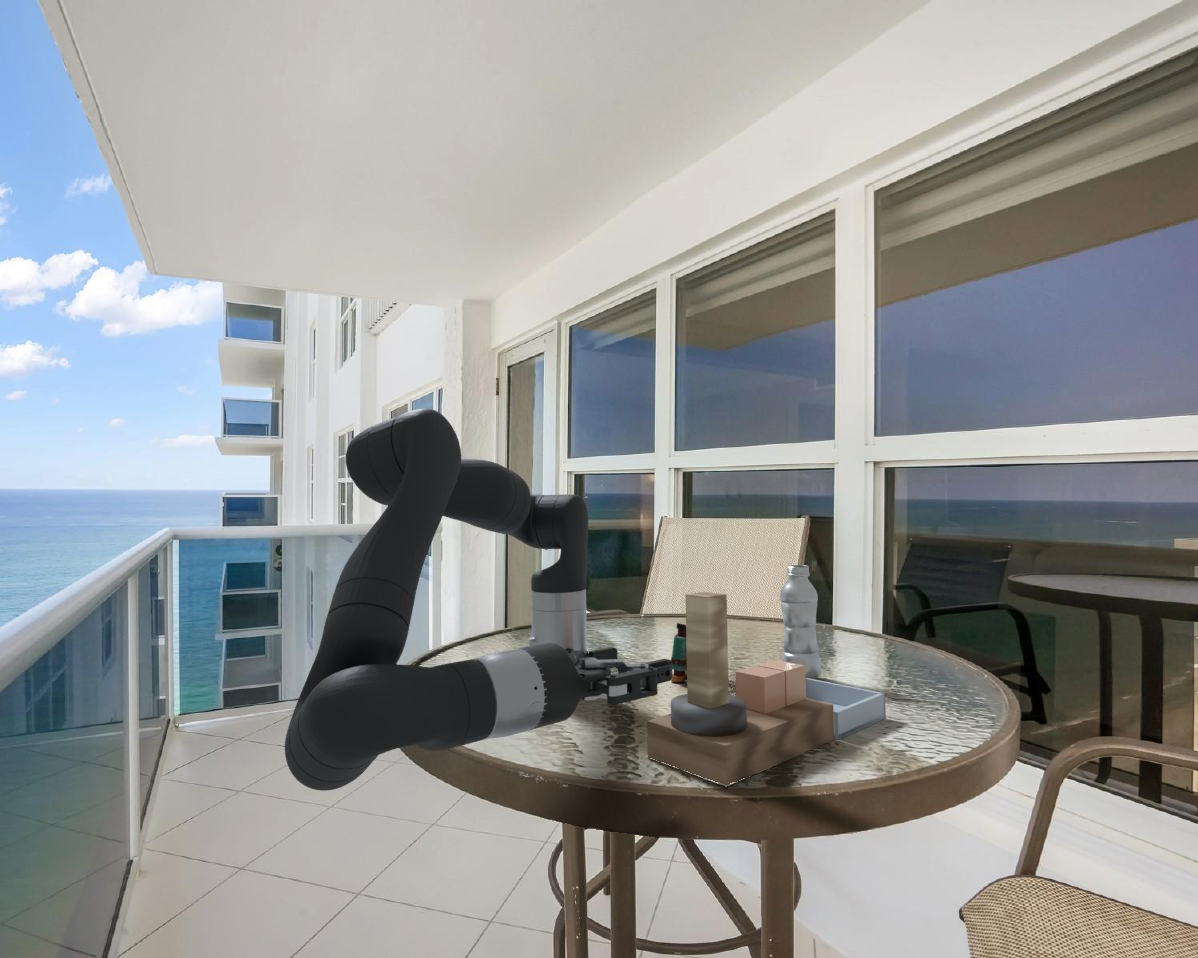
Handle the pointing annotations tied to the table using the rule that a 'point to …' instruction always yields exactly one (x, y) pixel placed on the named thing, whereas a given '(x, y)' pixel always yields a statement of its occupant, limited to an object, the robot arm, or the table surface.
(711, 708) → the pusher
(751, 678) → the pinkish tan cube
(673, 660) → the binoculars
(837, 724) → the tray
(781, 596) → the plastic bottle
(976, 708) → the table surface
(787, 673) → the beige cube
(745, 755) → the wooden rectangular block
